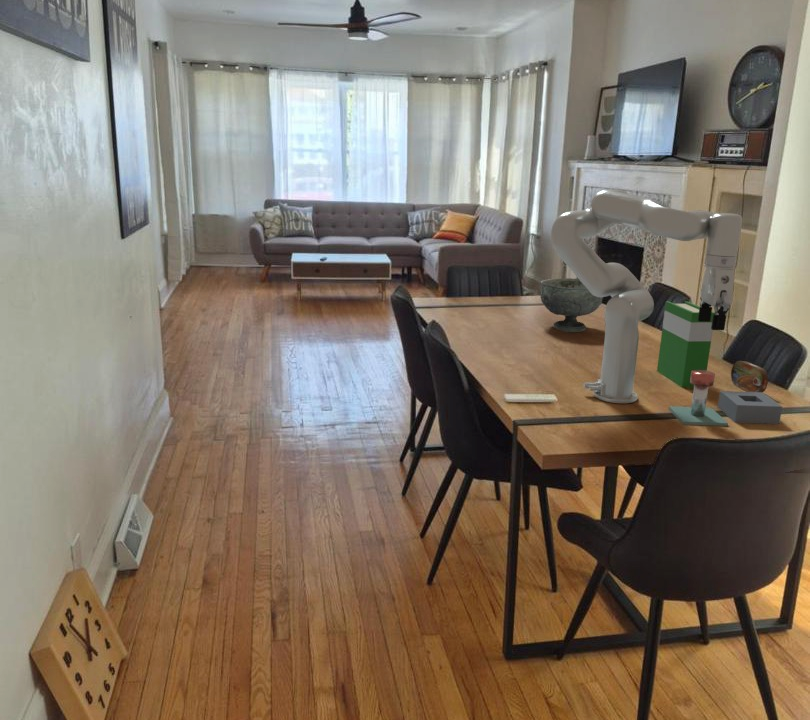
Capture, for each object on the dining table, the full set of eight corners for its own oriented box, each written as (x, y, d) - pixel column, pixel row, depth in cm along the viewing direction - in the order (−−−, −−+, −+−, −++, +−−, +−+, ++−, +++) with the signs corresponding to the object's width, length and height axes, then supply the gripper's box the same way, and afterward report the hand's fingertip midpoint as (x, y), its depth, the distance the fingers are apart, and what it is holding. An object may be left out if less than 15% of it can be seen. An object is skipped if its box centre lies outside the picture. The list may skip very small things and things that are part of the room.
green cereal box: (656, 371, 238) (665, 301, 231) (677, 370, 238) (687, 301, 232) (681, 387, 221) (692, 312, 214) (704, 387, 221) (715, 312, 215)
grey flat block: (734, 422, 192) (737, 405, 191) (717, 407, 203) (720, 390, 202) (779, 423, 192) (782, 406, 190) (759, 408, 203) (762, 392, 202)
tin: (728, 382, 227) (732, 357, 225) (737, 382, 228) (741, 357, 225) (757, 397, 213) (762, 371, 210) (767, 397, 213) (771, 371, 211)
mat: (682, 424, 190) (683, 421, 189) (668, 408, 201) (669, 406, 201) (727, 425, 189) (728, 423, 189) (711, 410, 201) (711, 407, 200)
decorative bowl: (608, 336, 281) (612, 286, 276) (544, 335, 281) (547, 286, 277) (593, 323, 307) (596, 277, 302) (534, 323, 307) (536, 277, 302)
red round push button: (712, 418, 192) (718, 376, 189) (690, 417, 192) (695, 375, 189) (704, 411, 198) (710, 370, 195) (682, 410, 198) (688, 369, 195)
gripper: (748, 267, 175) (738, 333, 179) (721, 257, 191) (712, 318, 196) (718, 266, 175) (708, 332, 180) (694, 256, 192) (685, 317, 196)
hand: (710, 325), depth 188 cm, fingers open, 9 cm apart
